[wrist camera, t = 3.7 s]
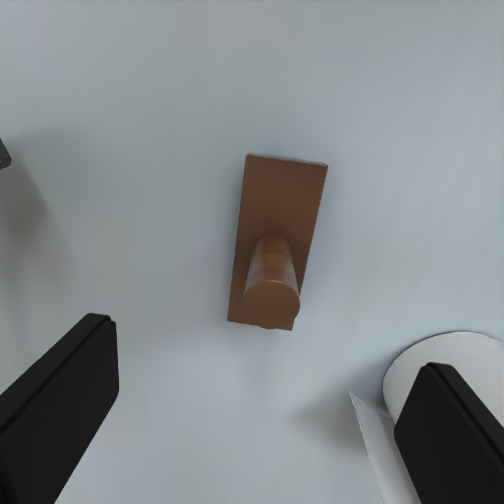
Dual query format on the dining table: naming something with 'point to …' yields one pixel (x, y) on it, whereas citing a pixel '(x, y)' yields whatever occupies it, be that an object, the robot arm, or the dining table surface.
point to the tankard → (4, 156)
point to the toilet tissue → (397, 390)
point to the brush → (274, 239)
